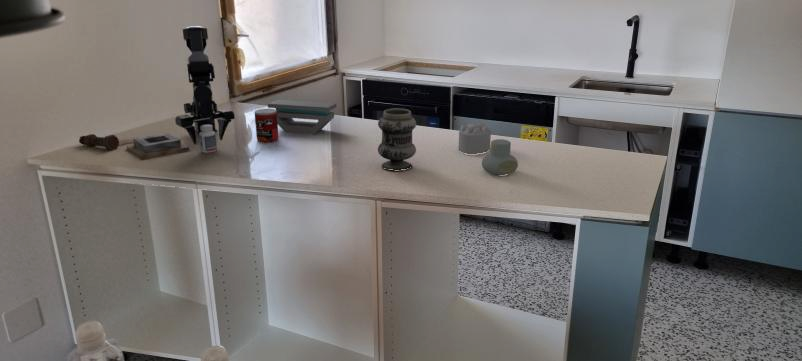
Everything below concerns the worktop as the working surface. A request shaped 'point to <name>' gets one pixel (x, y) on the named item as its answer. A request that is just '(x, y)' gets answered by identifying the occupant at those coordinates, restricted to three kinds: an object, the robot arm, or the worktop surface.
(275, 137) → the canned food
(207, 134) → the pill bottle
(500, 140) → the air freshener
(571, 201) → the worktop surface
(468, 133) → the lumpy-topped squat cylinder
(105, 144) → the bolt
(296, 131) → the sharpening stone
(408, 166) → the apothecary jar
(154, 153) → the collar board
